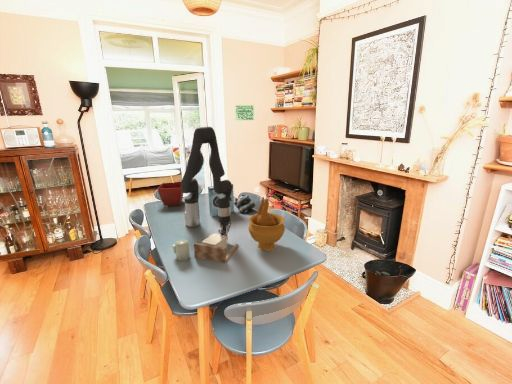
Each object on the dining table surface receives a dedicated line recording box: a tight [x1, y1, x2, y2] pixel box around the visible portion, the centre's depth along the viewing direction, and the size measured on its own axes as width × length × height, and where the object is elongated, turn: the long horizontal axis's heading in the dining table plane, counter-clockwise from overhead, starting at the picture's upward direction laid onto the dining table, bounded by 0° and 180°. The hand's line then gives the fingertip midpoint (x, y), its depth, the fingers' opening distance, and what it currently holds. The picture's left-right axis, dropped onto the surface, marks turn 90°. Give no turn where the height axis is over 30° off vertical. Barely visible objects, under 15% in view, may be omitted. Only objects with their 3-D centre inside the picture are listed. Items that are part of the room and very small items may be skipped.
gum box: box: [207, 183, 235, 218], centre depth 200 cm, size 20×5×23 cm, turn 123°
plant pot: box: [157, 181, 184, 207], centre depth 224 cm, size 19×19×17 cm
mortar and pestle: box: [248, 196, 286, 251], centre depth 148 cm, size 21×21×30 cm
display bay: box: [193, 242, 239, 263], centre depth 146 cm, size 18×19×8 cm
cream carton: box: [201, 233, 228, 249], centre depth 148 cm, size 9×12×7 cm
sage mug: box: [172, 239, 191, 262], centre depth 140 cm, size 8×7×9 cm
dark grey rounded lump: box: [234, 194, 256, 214], centre depth 208 cm, size 15×12×14 cm
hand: (225, 240), depth 157 cm, fingers closed
